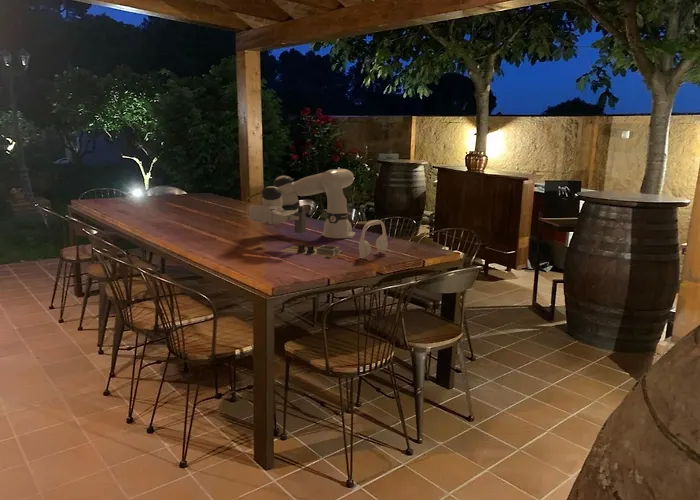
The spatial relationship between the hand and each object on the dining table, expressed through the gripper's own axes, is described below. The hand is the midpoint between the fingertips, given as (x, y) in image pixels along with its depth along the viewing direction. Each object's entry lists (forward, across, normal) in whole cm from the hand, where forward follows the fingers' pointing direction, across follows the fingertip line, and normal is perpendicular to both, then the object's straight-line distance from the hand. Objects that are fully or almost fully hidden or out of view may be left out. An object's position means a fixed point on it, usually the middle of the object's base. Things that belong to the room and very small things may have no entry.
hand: (301, 217), depth 274 cm
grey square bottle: (-1, 0, -8) cm, 8 cm away
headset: (+34, -10, -18) cm, 40 cm away
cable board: (+4, -3, -18) cm, 19 cm away
